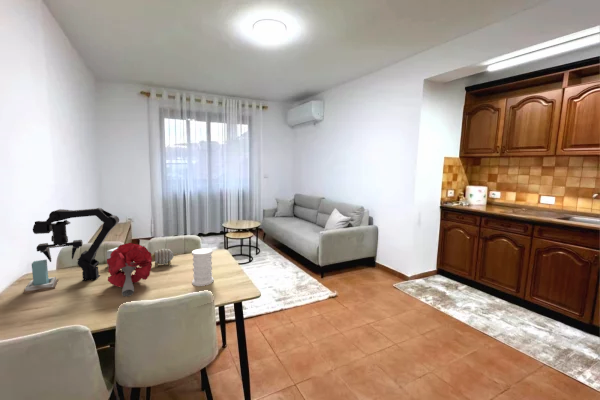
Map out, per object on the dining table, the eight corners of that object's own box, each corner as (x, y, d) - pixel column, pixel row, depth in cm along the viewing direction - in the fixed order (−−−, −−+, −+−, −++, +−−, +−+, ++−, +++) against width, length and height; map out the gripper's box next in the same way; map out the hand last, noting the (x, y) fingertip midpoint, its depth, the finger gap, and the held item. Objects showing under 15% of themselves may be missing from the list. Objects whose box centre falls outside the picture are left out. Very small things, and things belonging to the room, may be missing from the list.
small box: (114, 267, 177) (113, 251, 176) (107, 266, 178) (106, 250, 177) (124, 263, 185) (123, 247, 184) (117, 262, 186) (116, 247, 185)
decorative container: (218, 280, 160) (217, 249, 158) (203, 287, 150) (202, 255, 148) (202, 276, 165) (202, 247, 163) (187, 283, 155) (186, 252, 153)
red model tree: (155, 300, 149) (153, 259, 170) (150, 271, 135) (148, 230, 156) (107, 311, 140) (111, 266, 160) (96, 282, 126) (102, 237, 147)
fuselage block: (48, 282, 151) (46, 259, 149) (46, 286, 147) (44, 262, 145) (36, 284, 148) (34, 261, 147) (33, 288, 144) (31, 264, 142)
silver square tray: (58, 280, 156) (58, 276, 155) (54, 288, 146) (54, 283, 146) (29, 285, 149) (28, 280, 149) (23, 293, 139) (22, 288, 139)
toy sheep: (148, 265, 182) (147, 248, 181) (175, 260, 192) (175, 244, 191) (151, 270, 174) (150, 252, 172) (179, 264, 184) (179, 248, 182)
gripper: (82, 228, 164) (84, 253, 165) (39, 231, 153) (42, 259, 155) (80, 232, 154) (82, 259, 156) (35, 236, 144) (37, 265, 146)
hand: (61, 260), depth 154 cm, fingers open, 9 cm apart
